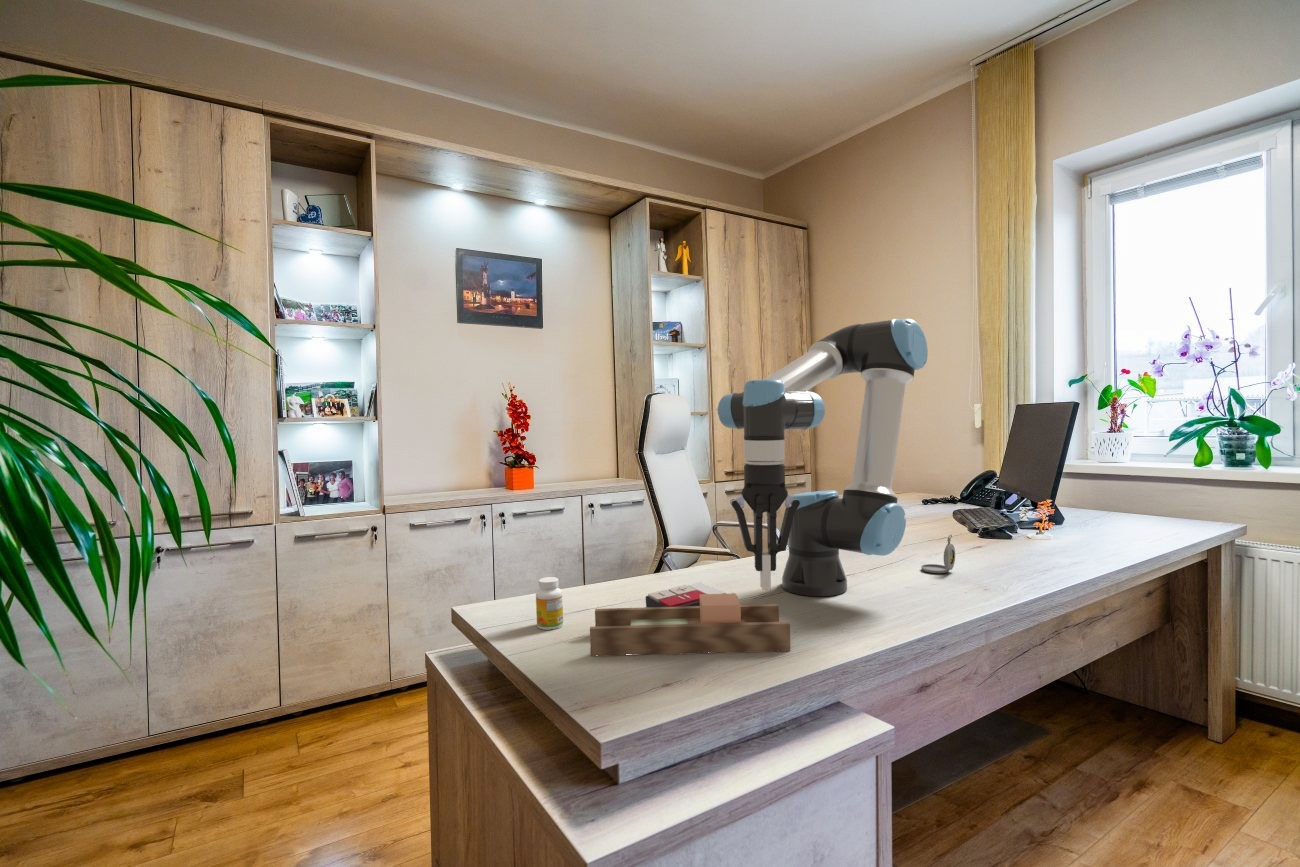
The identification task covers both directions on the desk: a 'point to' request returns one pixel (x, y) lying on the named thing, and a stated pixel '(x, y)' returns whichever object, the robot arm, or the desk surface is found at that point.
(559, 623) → the supplement bottle
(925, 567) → the pocket watch
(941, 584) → the desk surface
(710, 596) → the block
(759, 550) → the robot arm
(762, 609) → the trap channel
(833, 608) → the desk surface
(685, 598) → the calculator
